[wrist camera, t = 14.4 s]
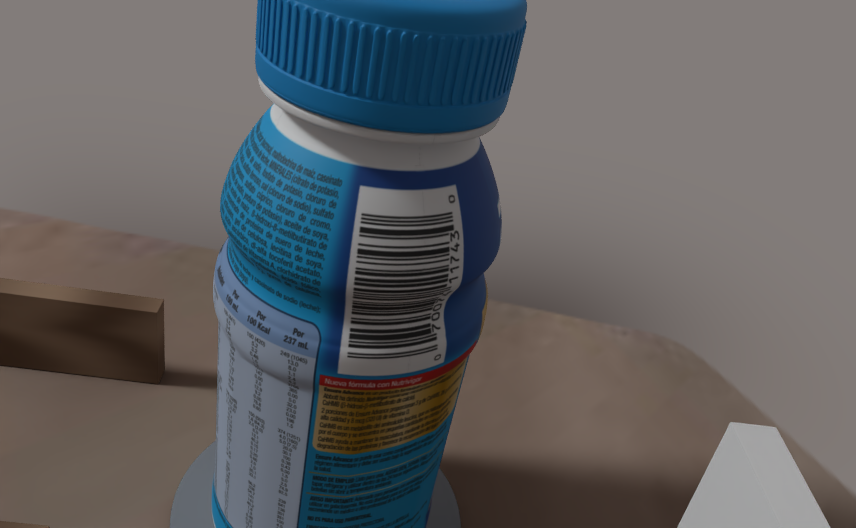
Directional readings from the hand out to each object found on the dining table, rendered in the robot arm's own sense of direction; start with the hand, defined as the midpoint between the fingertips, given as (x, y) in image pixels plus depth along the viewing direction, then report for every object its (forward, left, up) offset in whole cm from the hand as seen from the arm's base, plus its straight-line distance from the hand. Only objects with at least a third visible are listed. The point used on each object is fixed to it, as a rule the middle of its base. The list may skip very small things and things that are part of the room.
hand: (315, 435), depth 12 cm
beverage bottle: (0, -11, -15) cm, 19 cm away
